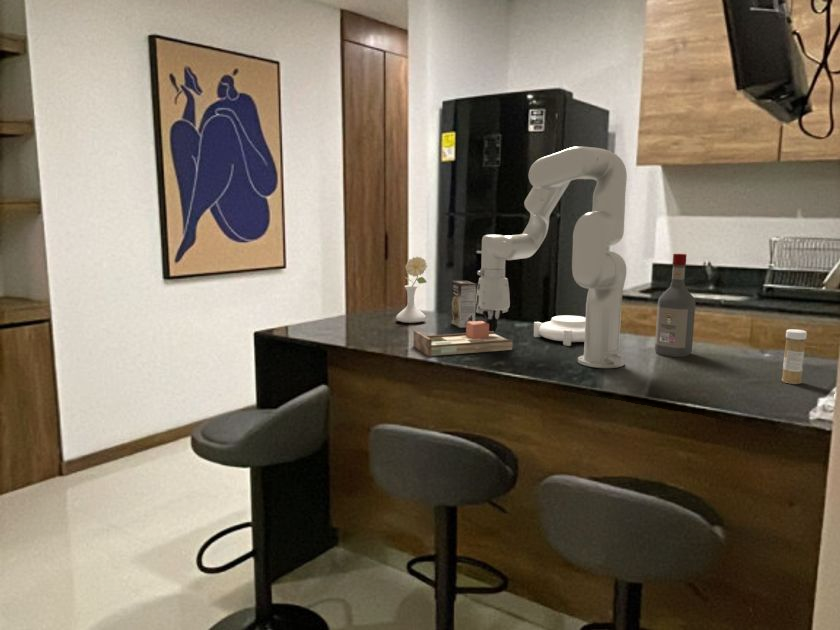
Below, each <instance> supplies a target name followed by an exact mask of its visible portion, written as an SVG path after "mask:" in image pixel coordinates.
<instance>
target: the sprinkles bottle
mask: <svg viewBox="0 0 840 630" xmlns="http://www.w3.org/2000/svg"><path fill="white" fill-rule="evenodd" d="M807 337H808V333H807V331H806V330H803V329H796V328H795V329H793V328H791V329H790V328H789V329H786V331H785V348H784V354H783V361H782V362H783V364H782V378H781V381H782V382H783V383H786V384H792V385H799V384H801V383H802V373H803V369H804V359H805V358H804V357H805V349H806V348H805V346H806V339H807Z"/></svg>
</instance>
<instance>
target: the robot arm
mask: <svg viewBox="0 0 840 630" xmlns="http://www.w3.org/2000/svg"><path fill="white" fill-rule="evenodd" d="M627 173H628V172H627V168H626V165H625V163H624V161H623V160H622V158H620V157H619V155H617V154H616V153H614V152H613V151H610V150H608V149H605V148H601V147H600V148H599V147H592V146H591V147H590V146H577V145H576V146H572V147H569V148H566V149H563V150H561V151H557V152H554V153H552V154H548V155H546V156H543V157H540V158H538V159H537V160H535V162H533V163H532V164H531V166H530V168H529V171H528V180H529V183H530V184H531V186H532V188H531V189H530V191H529V193H528V195H527V196H526V198H525V200H524V203H523V204H524V208H525V209H526V210H527V211H528V212H529V214H530V217H529V220H528V223H527V225H526V227H525V228H524V230H523V232H522V233H520V234H512V235H509V234H508V235H503V234H485V235H483V236H482V239H481V259H480V260H481V263H480V264H481V268H480V270H477V272H476V273H477V275H478V276H480V277H479V278H478V282H477V285H476V310H475V313H476V314H480V315H483V316H484V317H485V318H486V323H488V324H489V332H493V331H494V332H496V331H497V329H498V319H499V318H500V316H501V315H502V314H504V313H507V312H509V308H510V306H511V305H510V304H511V303H510V302H511V301H510V300H511V299H510V296H511V295H510V287H509V286H510V285H509V279H508V278H507V277H506V261H513V260H520V259H521V260H522V259H528V258H531V257H532V256H533V255H534V254H536V252H537V251H538V250H539V248H540V247H541V245H542V244H543V242H544V240H545V238H546V237H547V234H548V231H549V225H550V216H551V214H552V213H553V211H554V209H555V207H556V206H557V204H558V203H559V201H560V200H561V197H562V196H563V194H564V193H565V191H566V190H567V188H568V187H569V185H570V183H571V181H574V180H592V181H593V180H594V181H596V185H595V188H594V191H593V195H592V210H591V211H588V212H586V213H584V214H582V215H581V216H580V217H579V218H578V219H577V221H576V223H575V226H574V227H573V228H574V229H573V234H572V253H571V254H572V255H571V256H572V257H571V270H572V277H573V279H574V281H575V282H576V284H577V285H578V286H579V287H581V288H583V289H588V291H587V296H586V303H585V316H584V317H585V340H584V342H583V343H584V344H583V346H584V347H583V355H582V354H581V355H579V356H578V357H577V362H578V364H580V365H583V366H585V367H589V368H597V369H616V368H621V367H623V366H624V364H625V357H624V356H621V350H620V335H621V318H622V302H623V293H624V287H625V283H626V277H627V264H626V262H625V260H624V258H623V257H622V256H621V255H620V254H619V253H617V252H616V251H615V252H614V251H609V250H607V247H611V246H615V245H617V244H618V243H620V242H621V241H622V239H623V236H624V232H625V214H626V193H627V192H626V191H627V178H628V174H627Z"/></svg>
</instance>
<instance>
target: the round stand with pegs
mask: <svg viewBox="0 0 840 630" xmlns="http://www.w3.org/2000/svg"><path fill="white" fill-rule="evenodd" d="M585 317H586V316H582V315H568V314H567V315H563V314H562V315H556V316H553V317H551V319H550V321H545V322H540V321H534V322H533V337H534V338H541V337H542V338H544V339H548V340H551V341H557V342H562V344H563V346H566V347H571V346H572V343H584V340H585Z"/></svg>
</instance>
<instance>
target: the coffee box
mask: <svg viewBox="0 0 840 630" xmlns="http://www.w3.org/2000/svg"><path fill="white" fill-rule="evenodd" d="M476 294H477V283H475V282H471V281H469V280H452V281H451V324H452V325H454V326H456V327H458V329H459V328H460V329H463V328H466V322H471V321H476V309H477V307H476Z"/></svg>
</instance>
